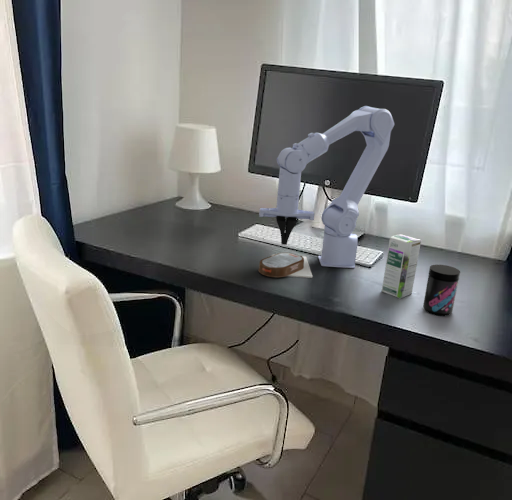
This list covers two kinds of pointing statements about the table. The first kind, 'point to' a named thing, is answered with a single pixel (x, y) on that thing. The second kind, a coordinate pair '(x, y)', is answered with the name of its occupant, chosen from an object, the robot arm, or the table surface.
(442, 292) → the supplement container
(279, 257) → the tin
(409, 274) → the syrup box
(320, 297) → the table surface
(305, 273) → the white flat panel
